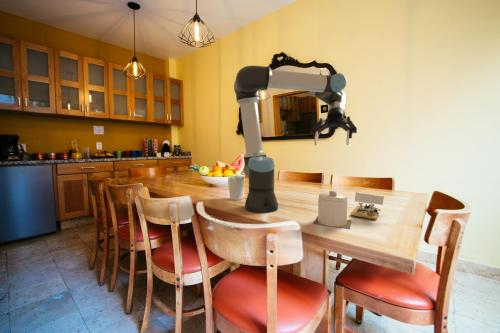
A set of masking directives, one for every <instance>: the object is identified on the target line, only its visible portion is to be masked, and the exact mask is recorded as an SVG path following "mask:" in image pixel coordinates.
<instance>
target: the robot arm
mask: <svg viewBox="0 0 500 333" xmlns="http://www.w3.org/2000/svg"><path fill="white" fill-rule="evenodd" d="M347 82H348V80H347V77H346V75H344V74H342V73H338V72H337V73H336V74H333V75H328V74H317V73H309V72H308V73H307V72H299V71H298V72H297V71H287V70H277V69H272V68H271V67H270V66H263V65H246V66H244V67H242V68H240V69H239V71H237V73H236V77H235V80H234V83H233V84H234V85H233V89H234V91H233V92H234V93H235V99H236V103H237V104H238V105H239V106H240V115H241V122H242V131H243V138H244V139H243V140H244V145H245V148H244V149H245V154H244V155H243V163H244V164H243V165H244V167H243V171H244V174H245V177H247V178H248V193H247V197H246V199H245V202H244V210H245V211H248V212H252V213H263V214H265V213H273V212H275V211H277V210H279V203H278V199H277V196H276V193H275V167H276V166H275V160H274V159H273V157H270V156H268V157H267V154H266V152H265V151H263V150H264V149H263V142H262V141H263V140H262V133H261V132H262V130H261V125H260V115H259V108H258V106H259V105H258V103H259V101H260V99H261V97H260V91H267V90H269V89H279V90H290V91H303V92H309V93H310V94H311V95H312V96H314V98H317V99H319V100H320V101H322V102H323V103H325V104H326V105H328V109H327V110H328V111H327V113H326V114H327V115H326V118H325V119H323V118H322V117H321V118H319V120H318V122H316V123H315V125H314V126H313V127H311V129H310V135H312V137H313V143H314V146H317V144H318V141H319V140H318V139H319V134H321V133H322V132H323V131H325V130H326V129H329V128H334V127H335V128H337V127H338V128H341V129H342V130H343V131H345V132H346V140H345V141H346V145H347V146H349V143H350V142H349V141H350V139H352V138H353V134H357V133H358V128H357V127H356V125H355V124H354V122H353V121H352V120H351V117H350V116H347V117H346V118H345V117H344V114H345V106H346V101H347V97H346V96H347V95H346V93H345V92H344V91H343V90H344V89H345V88H346V87H347V84H348V83H347ZM344 122H345V123H344Z"/></svg>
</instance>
